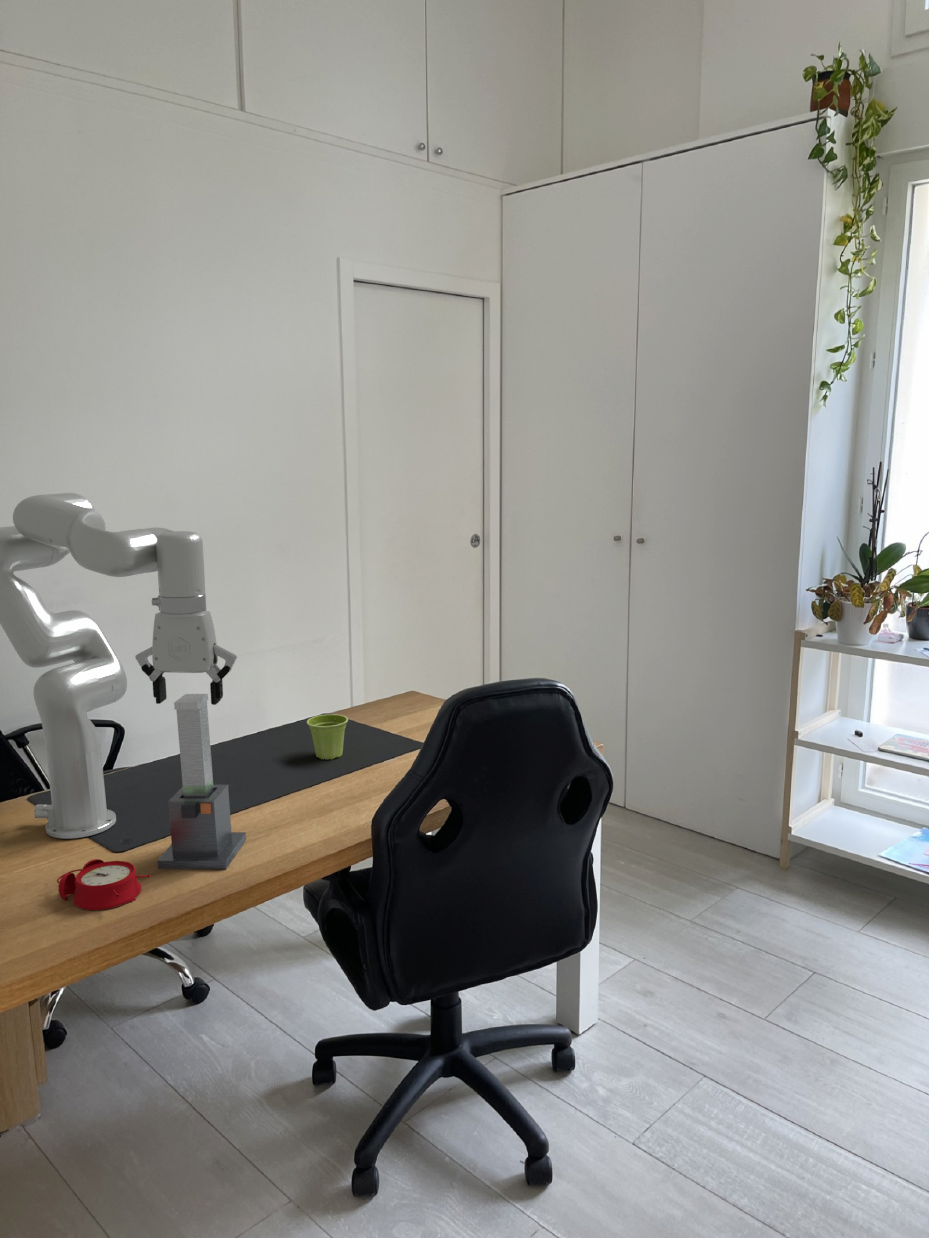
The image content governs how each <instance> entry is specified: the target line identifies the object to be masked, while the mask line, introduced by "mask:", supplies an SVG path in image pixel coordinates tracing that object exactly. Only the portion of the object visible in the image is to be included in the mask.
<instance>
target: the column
mask: <svg viewBox="0 0 929 1238" xmlns="http://www.w3.org/2000/svg"><path fill="white" fill-rule="evenodd" d="M208 701H209V693H185V694H183V695H182V696H181V697H180V698H178V699H176V701H174V702H173V705H174V707H173V708H174V710H176V721H177V722H176V723H177V732H178V733H177V734H178V743H179V747H178V748H179V756H180V759H179V760H180V768H181V781H182V787H183V796H184V798H209V797H210V796H211V795H212V794H213V793H214V788H213V785H214V778H213V764H212V752H211V750H212V749H211V738H210V737H211V736H210V725H209V712H208V710H209V709H208Z"/></svg>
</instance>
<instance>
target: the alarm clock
mask: <svg viewBox="0 0 929 1238" xmlns="http://www.w3.org/2000/svg"><path fill="white" fill-rule="evenodd" d="M74 872H78V873H77V874H76V875H75V873H74ZM138 878H151V874H148V875H137V868H136V867H135V865H134V864H133V863H131V862H128V861H124V860H109V861H103V860H102V859H100V858H99V859H98V858H97V859H96V858H95V859H91V860H89V861H88V862H86V863H85V864H84V865H83V867H82V868H79V869H73V870H71V871H68V872H65V873H64V874H62V875H60V876H59V877H58V878H57V879H56V883H57V884H58V885H57V888H58V894H59V895H58V896H59V897H60V899H62V900H64V901H68V899H67V898H66V897H68V896H69V895H72V896H73V897H72V902H73V905H74V906H75V907H77V908H79V909H80V910H81V909H82V910H85V911H86V910H87V911H101V910H108V909H113V908H116V907H117V908H118V907H120V906H122V905H125V904H128V903H129V902H131V903H134V902H135V901H137V897H138V896H139V895H140V893H141V892H142V883H140V881H139V880H138ZM67 895H68V896H67ZM133 901H134V902H133Z"/></svg>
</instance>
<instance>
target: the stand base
mask: <svg viewBox="0 0 929 1238" xmlns="http://www.w3.org/2000/svg"><path fill="white" fill-rule="evenodd" d="M213 788H214V793H213V794H212V795H211V796H210V797H209V798H184V796H183V786H181V787H180V788H179V790H178V791H177V792H175V794H174V795H172V797H171V798H169V800H168V801H167V804H168V814H169V817H168V818H169V827H170V838H171V844H170V845H169V846H168V847H167V848H166V850H164V851H163V853H162V855H161V856H160V857H159V858H158V859H157V861H156V862H157V863H156V865H157V869H158V870H227V869H228V868H229V867H230V865H231V863H232V862H233V860H234V859H235V857H236V856H237V855H238V854H239V851H240V850H241V848H242V847H243V846H244V844H245V842H246V841H247V833H246V831H245V832H244V831H238V832H237V831H234V832H232V824H231V823H232V822H231V820H232V819H231V809H230V805H231V804H230V796H229V795H230V794H229V792H230V791H229V784H213Z"/></svg>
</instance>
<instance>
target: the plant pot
mask: <svg viewBox="0 0 929 1238" xmlns="http://www.w3.org/2000/svg"><path fill="white" fill-rule="evenodd" d="M348 722H349V718H348V717H347V716H345V715H342V714H335V713H333V714H331V713H330V714H320V715H316V716H312V717H310V718H308V720H306V724H307V726H308V727H309V731H310V732H311V736H312V737H311V738H312V742H313V747H314V753H315V756H316V758H319V759H320V760H324V759H325V760H329V759H330V760H334V759H335V758H340V757H342V755H343V751H344V741H345V739H344V738H345V733H346V732H345V731H346V730H345V729H346V727H347V723H348Z"/></svg>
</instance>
